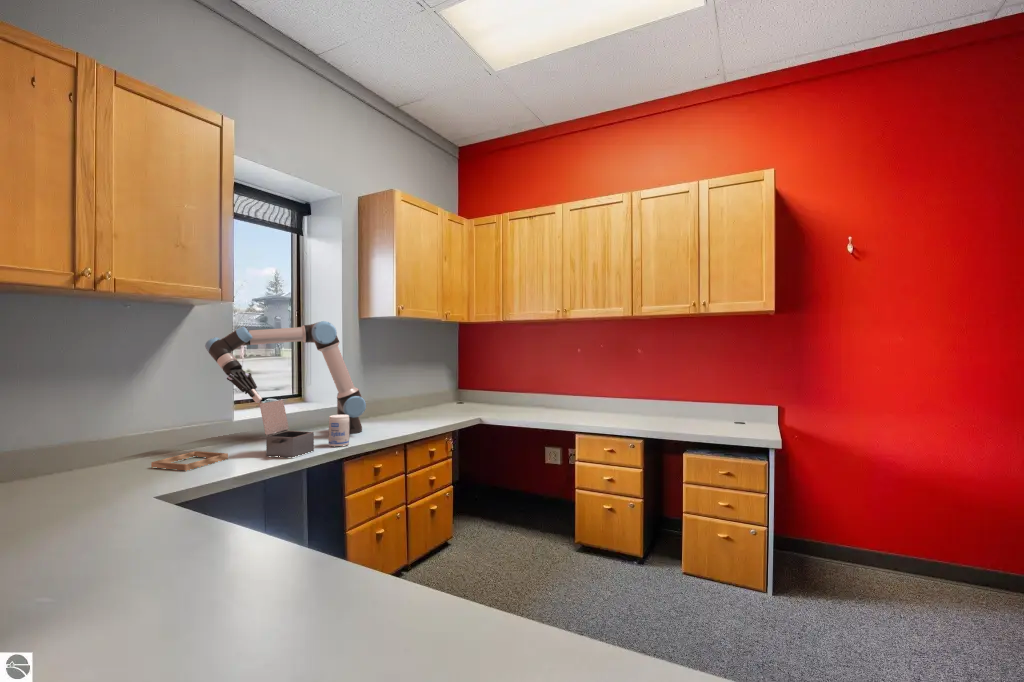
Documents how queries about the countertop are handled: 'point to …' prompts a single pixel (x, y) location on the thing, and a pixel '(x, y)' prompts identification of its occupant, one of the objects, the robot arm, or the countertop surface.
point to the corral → (210, 459)
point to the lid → (274, 417)
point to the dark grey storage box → (289, 443)
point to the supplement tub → (338, 430)
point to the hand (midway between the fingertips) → (259, 401)
